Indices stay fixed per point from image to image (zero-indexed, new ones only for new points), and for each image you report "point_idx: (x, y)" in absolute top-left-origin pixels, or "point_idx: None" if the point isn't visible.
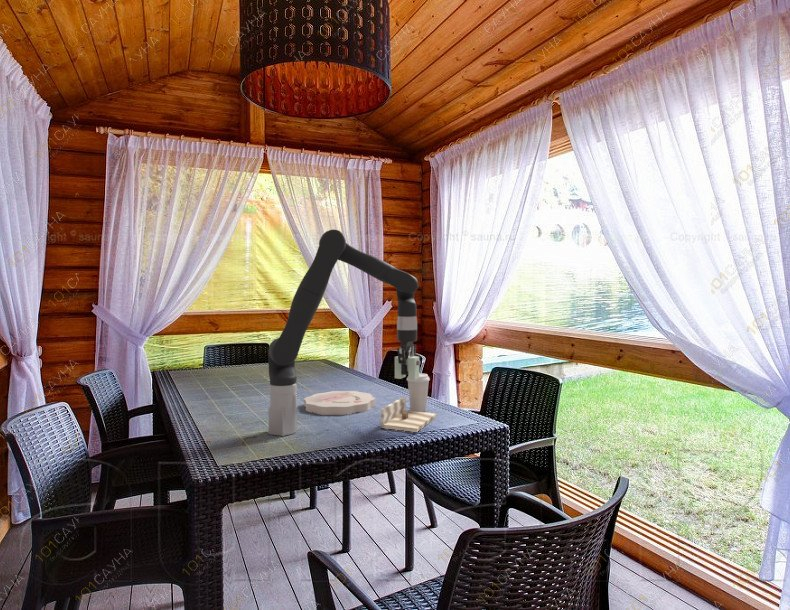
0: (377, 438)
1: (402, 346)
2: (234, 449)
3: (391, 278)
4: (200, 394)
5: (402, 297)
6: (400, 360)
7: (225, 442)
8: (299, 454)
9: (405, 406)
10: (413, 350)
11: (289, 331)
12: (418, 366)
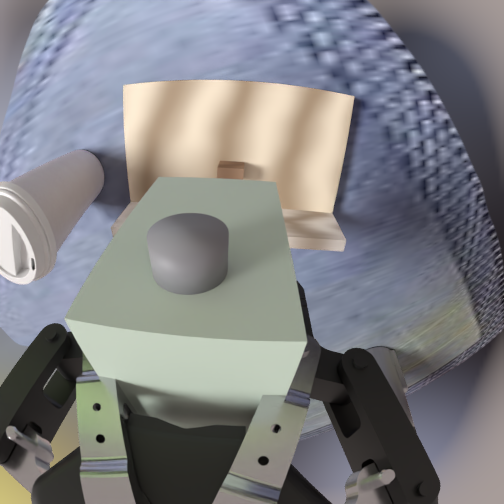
0: (412, 199)
1: None
2: (437, 358)
3: None
4: None
5: None
6: (350, 401)
7: (410, 377)
8: (474, 292)
9: (127, 209)
10: (80, 446)
11: None
12: (146, 230)
